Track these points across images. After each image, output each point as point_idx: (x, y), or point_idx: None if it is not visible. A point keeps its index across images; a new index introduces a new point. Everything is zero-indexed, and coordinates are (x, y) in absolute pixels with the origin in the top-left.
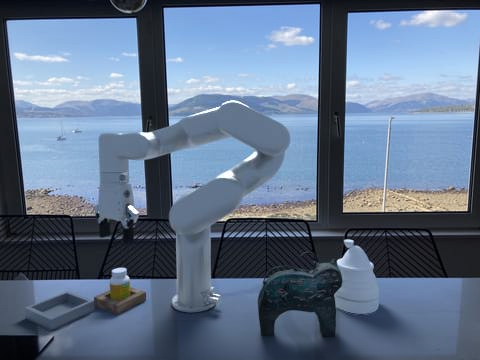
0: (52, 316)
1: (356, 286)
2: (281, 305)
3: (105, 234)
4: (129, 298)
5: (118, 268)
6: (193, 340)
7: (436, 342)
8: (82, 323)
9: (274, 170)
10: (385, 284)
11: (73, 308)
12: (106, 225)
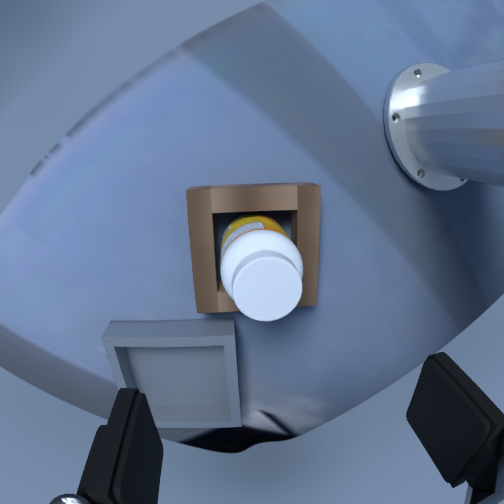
0: (180, 388)
1: None
2: None
3: (152, 437)
4: (310, 254)
5: (245, 279)
6: (494, 265)
7: None
8: (265, 363)
9: None
10: None
11: (231, 385)
12: (139, 498)
